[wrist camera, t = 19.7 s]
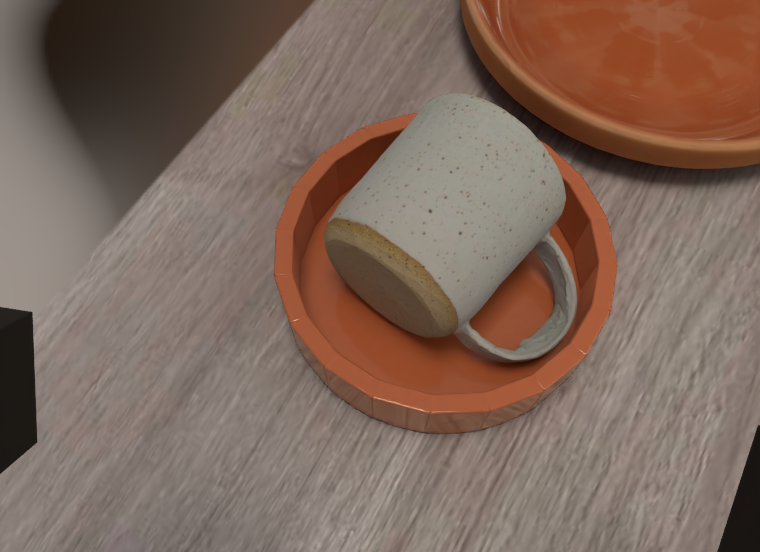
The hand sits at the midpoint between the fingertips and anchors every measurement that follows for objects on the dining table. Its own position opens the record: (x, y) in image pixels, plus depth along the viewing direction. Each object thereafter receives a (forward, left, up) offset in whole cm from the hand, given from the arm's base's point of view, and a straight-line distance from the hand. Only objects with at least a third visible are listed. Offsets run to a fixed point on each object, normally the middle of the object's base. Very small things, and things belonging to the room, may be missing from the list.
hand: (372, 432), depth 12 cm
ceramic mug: (-9, +7, -16) cm, 20 cm away
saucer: (-20, +24, -17) cm, 36 cm away
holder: (-9, +6, -16) cm, 20 cm away
